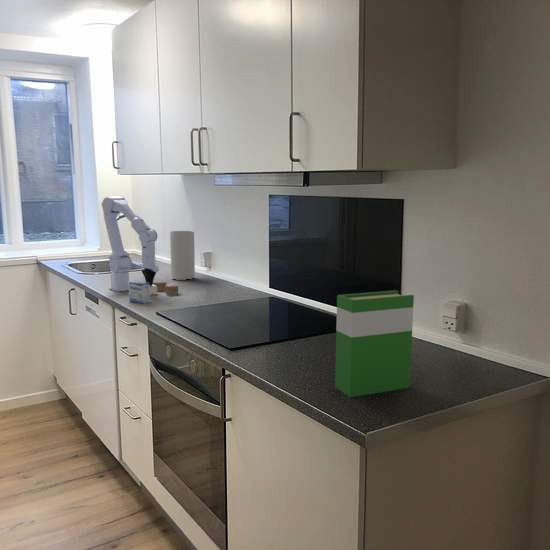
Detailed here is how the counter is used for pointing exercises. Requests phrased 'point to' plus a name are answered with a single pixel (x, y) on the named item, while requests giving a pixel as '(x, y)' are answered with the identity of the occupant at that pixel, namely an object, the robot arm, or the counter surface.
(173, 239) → the cylinder vase
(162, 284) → the dotted block
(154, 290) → the plain block
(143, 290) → the medicine box
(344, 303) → the hardback book
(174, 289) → the dotted block
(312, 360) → the counter surface
